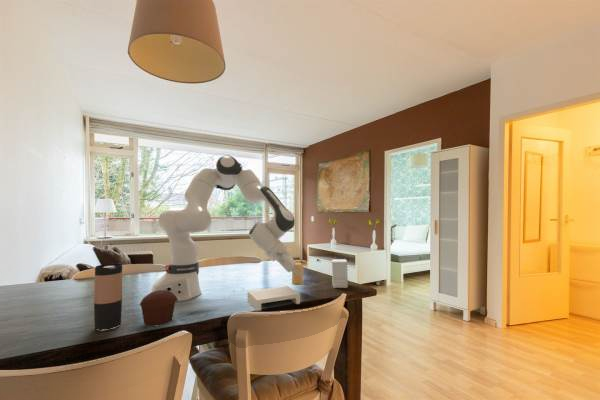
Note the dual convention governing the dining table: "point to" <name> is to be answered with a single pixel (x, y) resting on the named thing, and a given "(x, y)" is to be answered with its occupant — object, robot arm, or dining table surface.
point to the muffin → (158, 307)
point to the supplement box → (339, 273)
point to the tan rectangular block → (299, 279)
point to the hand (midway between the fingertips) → (298, 273)
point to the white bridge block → (272, 296)
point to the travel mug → (108, 296)
